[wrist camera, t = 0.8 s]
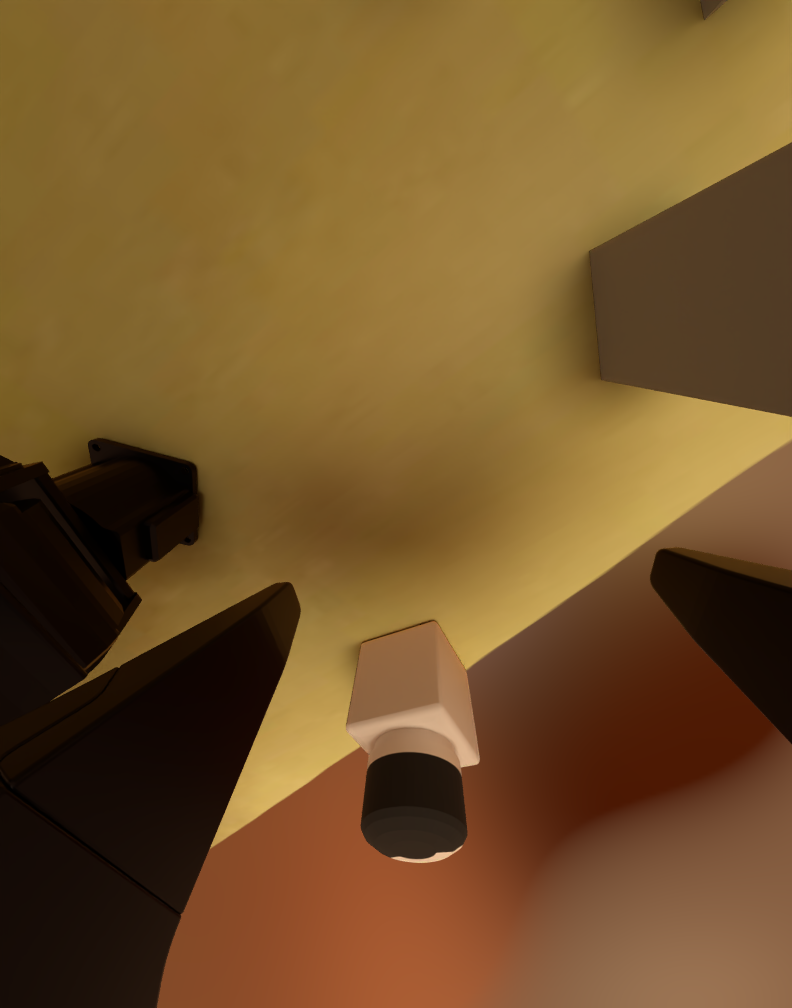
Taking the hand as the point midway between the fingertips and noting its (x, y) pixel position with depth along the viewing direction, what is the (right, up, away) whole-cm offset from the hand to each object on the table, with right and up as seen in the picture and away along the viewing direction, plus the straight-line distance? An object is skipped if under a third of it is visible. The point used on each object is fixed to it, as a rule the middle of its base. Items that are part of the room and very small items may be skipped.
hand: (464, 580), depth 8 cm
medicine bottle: (0, -11, +20) cm, 23 cm away
